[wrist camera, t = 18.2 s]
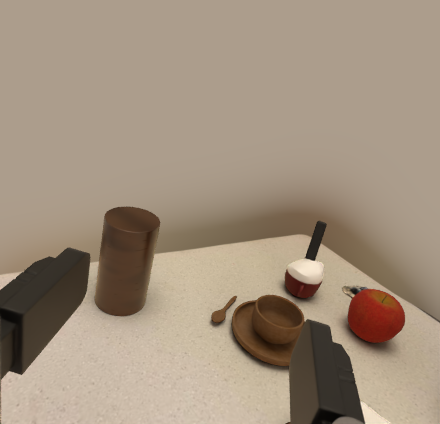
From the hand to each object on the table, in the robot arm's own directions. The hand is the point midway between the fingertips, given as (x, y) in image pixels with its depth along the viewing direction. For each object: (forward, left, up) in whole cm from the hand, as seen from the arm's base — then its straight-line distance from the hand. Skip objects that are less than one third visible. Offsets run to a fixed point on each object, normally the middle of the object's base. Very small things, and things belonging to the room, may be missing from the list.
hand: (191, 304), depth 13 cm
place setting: (+29, -1, -27) cm, 40 cm away
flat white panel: (+26, -17, -27) cm, 41 cm away
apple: (+44, -14, -27) cm, 54 cm away
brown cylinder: (+26, +20, -27) cm, 42 cm away
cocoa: (+48, -2, -27) cm, 55 cm away
